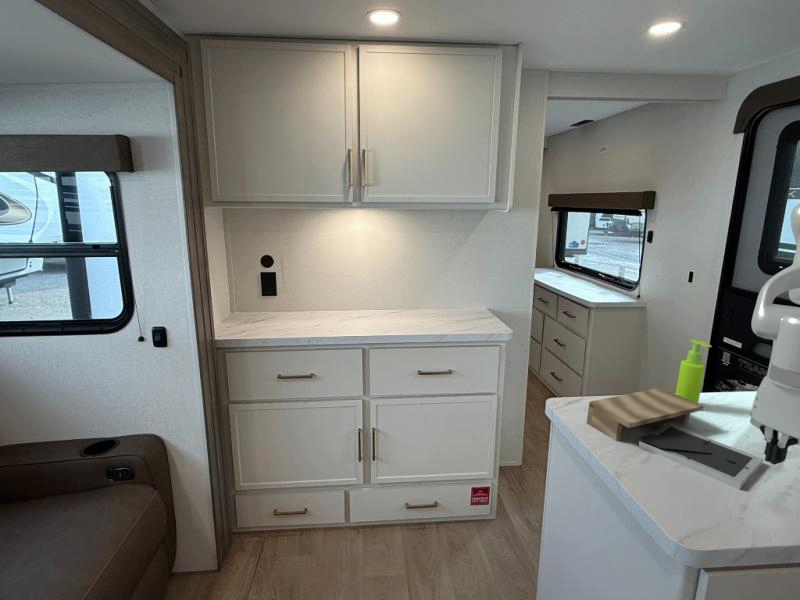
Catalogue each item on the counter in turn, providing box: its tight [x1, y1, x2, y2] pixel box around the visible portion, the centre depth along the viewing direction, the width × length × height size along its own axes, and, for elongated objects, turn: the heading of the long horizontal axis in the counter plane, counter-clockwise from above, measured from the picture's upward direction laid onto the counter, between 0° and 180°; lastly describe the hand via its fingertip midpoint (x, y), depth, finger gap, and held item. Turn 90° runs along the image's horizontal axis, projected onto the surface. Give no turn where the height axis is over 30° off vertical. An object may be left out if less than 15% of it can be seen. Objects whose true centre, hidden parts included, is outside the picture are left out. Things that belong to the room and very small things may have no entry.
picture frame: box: [638, 422, 764, 491], centre depth 108 cm, size 16×3×21 cm
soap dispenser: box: [675, 339, 713, 404], centre depth 131 cm, size 6×7×20 cm
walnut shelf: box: [586, 387, 704, 442], centre depth 121 cm, size 27×12×6 cm, turn 113°
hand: (773, 461), depth 93 cm, fingers closed
